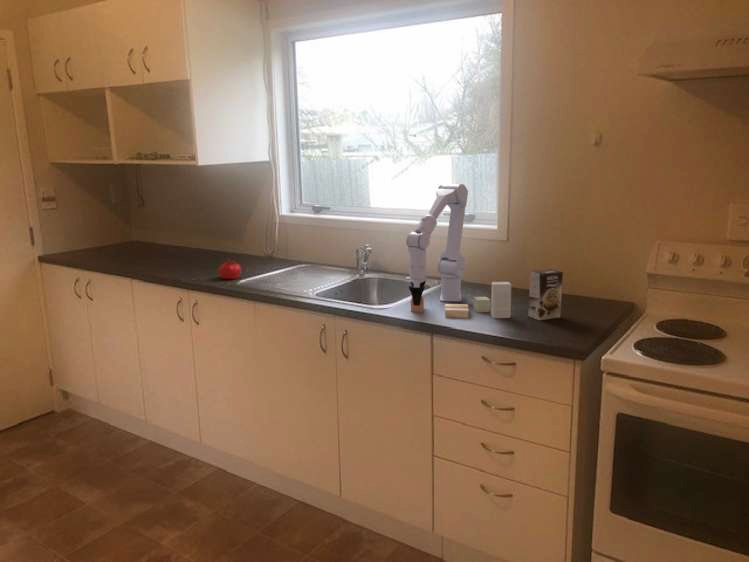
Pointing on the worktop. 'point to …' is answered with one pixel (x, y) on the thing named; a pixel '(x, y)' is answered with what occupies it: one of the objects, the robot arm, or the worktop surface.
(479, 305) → the sage cube
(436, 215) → the robot arm
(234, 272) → the pomegranate
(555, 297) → the coffee box
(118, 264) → the worktop surface
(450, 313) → the maple slab
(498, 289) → the skincare box
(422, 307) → the terracotta cube
